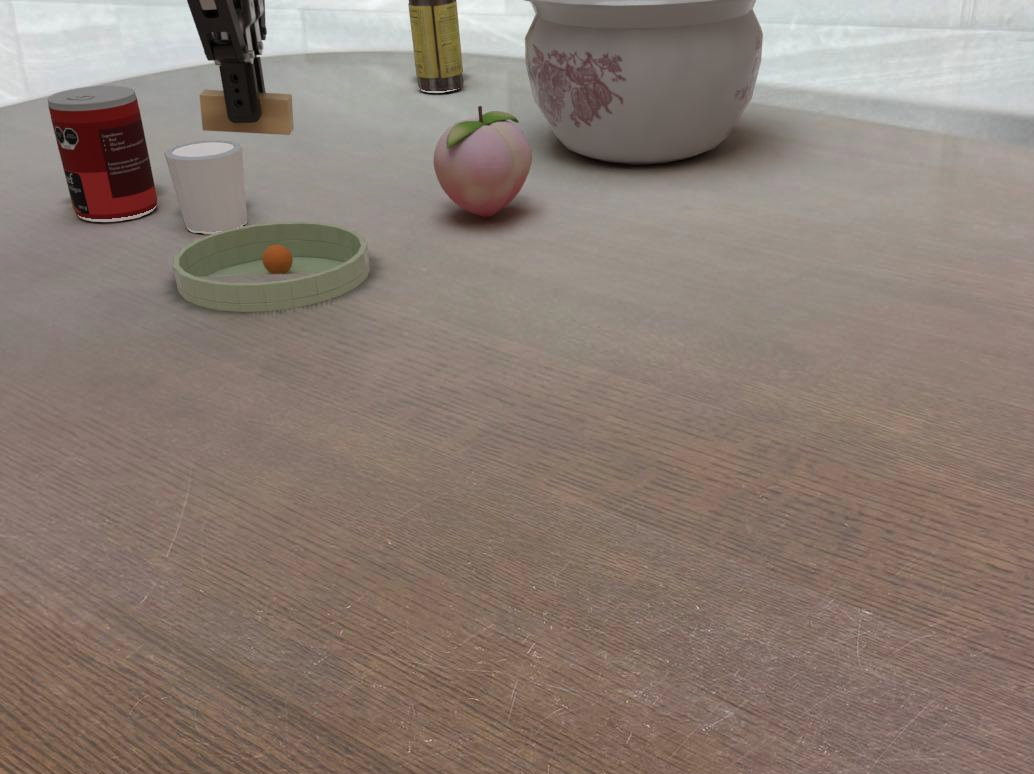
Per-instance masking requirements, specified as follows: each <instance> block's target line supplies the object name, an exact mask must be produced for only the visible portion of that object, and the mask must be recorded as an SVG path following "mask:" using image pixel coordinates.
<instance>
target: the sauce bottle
mask: <svg viewBox="0 0 1034 774" xmlns="http://www.w3.org/2000/svg"><path fill="white" fill-rule="evenodd" d="M458 13H459V12H458V3H457V0H408V14H409V22H410V23H409V24H410V32H411V39H412V49H413V57H414V66H415V67H414V68H415V75H416V78H417V88H418V87H419V88H420V89H422V90H425V91H447V90H453V89H458V88H460V89H461V88H463V87H464V77H463V72H464V65H463V64H464V63H463V56H462V46H461V45H462V44H461V35H460V23H459V14H458ZM419 88H418V89H419Z"/></svg>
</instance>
